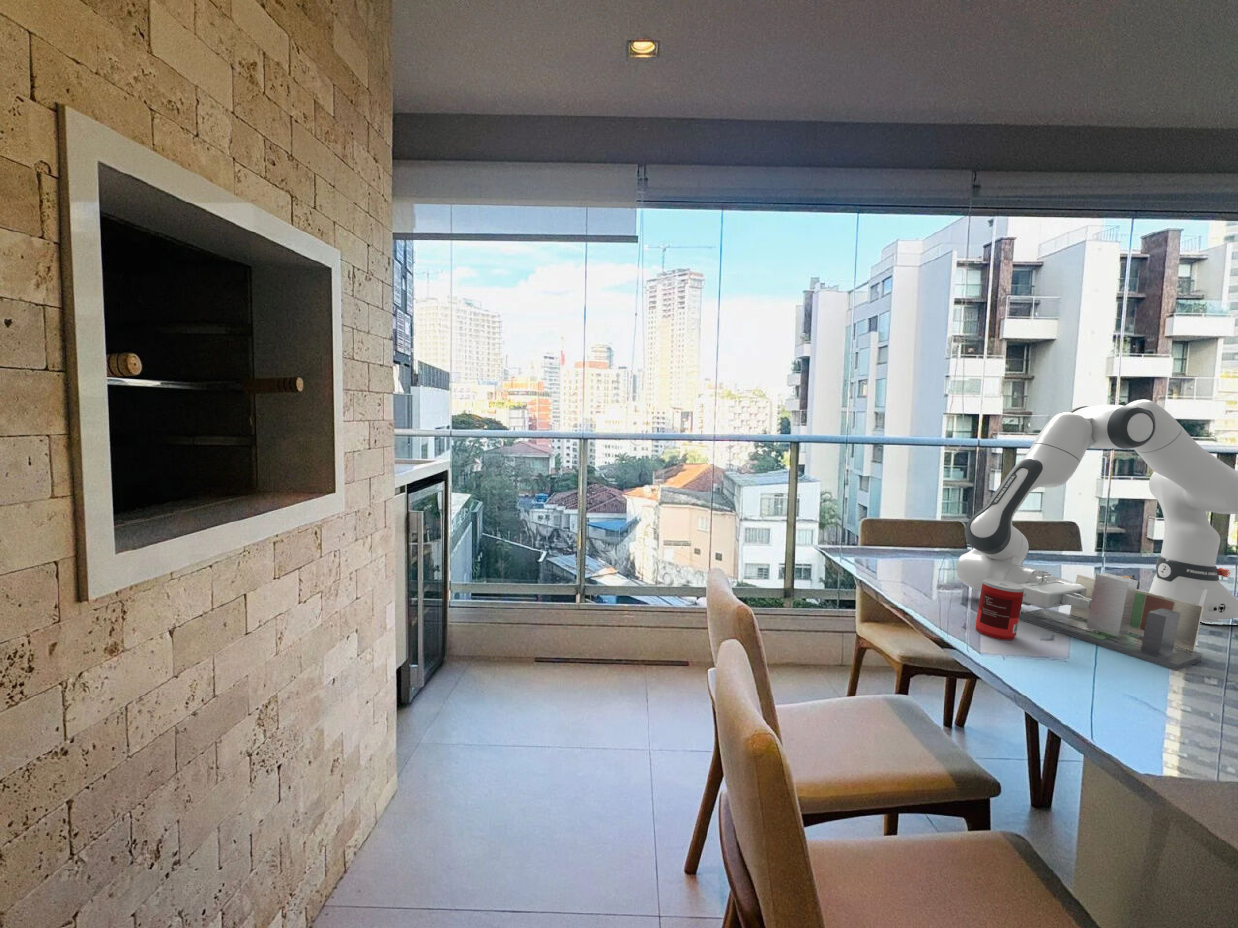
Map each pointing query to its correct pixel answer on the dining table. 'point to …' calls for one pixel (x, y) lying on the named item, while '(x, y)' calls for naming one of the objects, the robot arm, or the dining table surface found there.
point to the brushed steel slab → (1112, 604)
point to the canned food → (999, 608)
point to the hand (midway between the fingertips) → (1091, 604)
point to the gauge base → (1135, 627)
